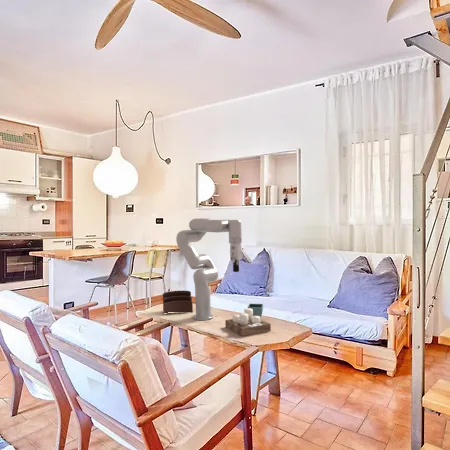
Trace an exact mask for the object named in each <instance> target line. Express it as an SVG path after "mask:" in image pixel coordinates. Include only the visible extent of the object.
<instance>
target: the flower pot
mask: <svg viewBox="0 0 450 450" xmlns="http://www.w3.org/2000/svg"><path fill="white" fill-rule="evenodd" d="M247 308H250V309H253V316H260V319H261V320H262V316H263V312H264V311H263V310H264V303H249V304H248V305H247Z"/></svg>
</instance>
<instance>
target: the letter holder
mask: <svg viewBox="0 0 450 450" xmlns="http://www.w3.org/2000/svg"><path fill="white" fill-rule="evenodd" d="M162 309H163V311H164V313H168V312H191V313H193V311H194V310H193V309H194V306H193V301H192V292H191V291H190V290H171V291H166V292H163V293H162ZM163 311H162V312H163ZM164 313H163V314H164Z"/></svg>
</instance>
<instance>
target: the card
mask: <svg viewBox="0 0 450 450" xmlns="http://www.w3.org/2000/svg"><path fill="white" fill-rule="evenodd" d="M261 325H262V324H259V323H255V324H250V325H248V326H250V327H255V326H261Z"/></svg>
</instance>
